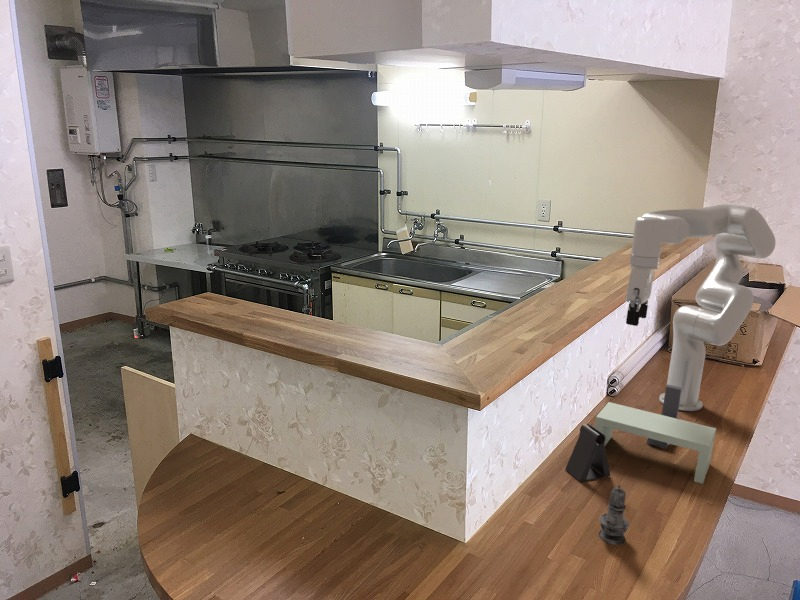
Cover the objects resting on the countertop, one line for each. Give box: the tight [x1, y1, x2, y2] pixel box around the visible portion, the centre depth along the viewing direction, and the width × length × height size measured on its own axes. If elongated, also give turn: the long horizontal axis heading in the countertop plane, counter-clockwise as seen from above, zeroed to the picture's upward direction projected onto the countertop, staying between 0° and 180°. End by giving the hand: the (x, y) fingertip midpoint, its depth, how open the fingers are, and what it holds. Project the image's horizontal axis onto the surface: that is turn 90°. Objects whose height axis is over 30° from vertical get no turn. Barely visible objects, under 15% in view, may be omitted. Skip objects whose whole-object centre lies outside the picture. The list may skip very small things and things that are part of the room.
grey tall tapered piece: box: [598, 484, 630, 546], centre depth 132 cm, size 6×6×12 cm
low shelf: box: [594, 401, 717, 485], centre depth 166 cm, size 12×27×10 cm, turn 58°
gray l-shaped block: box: [646, 383, 682, 450], centre depth 180 cm, size 17×5×12 cm, turn 147°
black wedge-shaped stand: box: [564, 423, 611, 483], centre depth 157 cm, size 9×6×12 cm, turn 110°
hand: (636, 321), depth 183 cm, fingers open, 9 cm apart
